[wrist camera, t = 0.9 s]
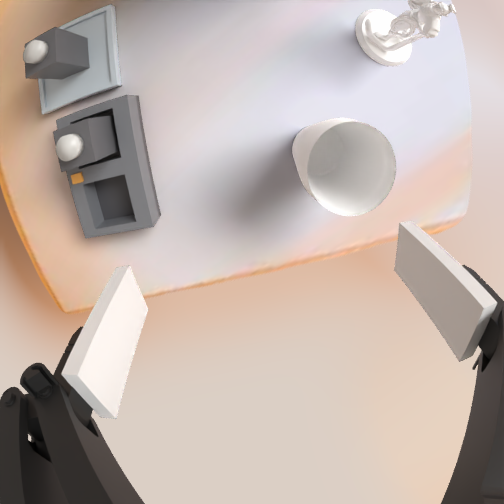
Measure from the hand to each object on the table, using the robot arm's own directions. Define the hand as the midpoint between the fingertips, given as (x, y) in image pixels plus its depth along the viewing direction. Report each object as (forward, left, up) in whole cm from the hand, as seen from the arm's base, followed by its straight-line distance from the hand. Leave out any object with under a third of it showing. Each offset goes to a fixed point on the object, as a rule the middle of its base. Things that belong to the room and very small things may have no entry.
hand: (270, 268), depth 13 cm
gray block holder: (-3, -17, -24) cm, 30 cm away
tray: (-19, -20, -24) cm, 37 cm away
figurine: (-17, +20, -24) cm, 36 cm away
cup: (-1, +9, -24) cm, 26 cm away
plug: (-19, -20, -23) cm, 36 cm away
